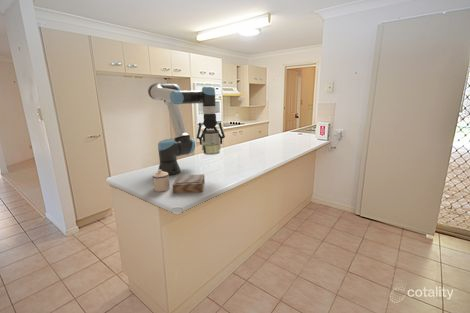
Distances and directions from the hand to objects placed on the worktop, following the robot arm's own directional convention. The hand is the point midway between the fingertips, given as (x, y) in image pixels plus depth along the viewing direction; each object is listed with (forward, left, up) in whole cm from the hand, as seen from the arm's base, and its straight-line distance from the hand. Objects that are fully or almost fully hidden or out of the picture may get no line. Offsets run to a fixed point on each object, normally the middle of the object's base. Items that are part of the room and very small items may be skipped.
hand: (211, 149), depth 144 cm
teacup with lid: (-30, -13, -20) cm, 38 cm away
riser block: (-13, -13, -20) cm, 27 cm away
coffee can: (0, 0, -3) cm, 3 cm away
